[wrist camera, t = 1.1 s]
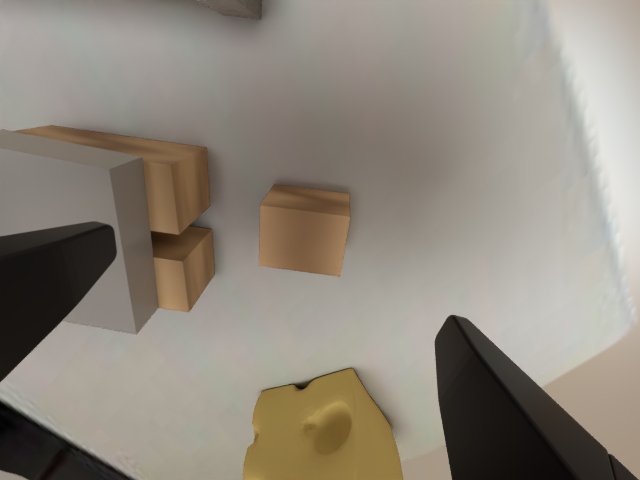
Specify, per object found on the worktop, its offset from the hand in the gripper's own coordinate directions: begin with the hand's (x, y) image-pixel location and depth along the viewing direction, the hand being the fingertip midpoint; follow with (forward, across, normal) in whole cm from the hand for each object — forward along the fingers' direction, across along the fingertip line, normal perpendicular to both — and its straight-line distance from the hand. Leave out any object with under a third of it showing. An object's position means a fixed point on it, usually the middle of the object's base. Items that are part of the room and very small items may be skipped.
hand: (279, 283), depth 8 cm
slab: (+8, +12, +6) cm, 15 cm away
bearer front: (+12, +12, +3) cm, 18 cm away
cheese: (+13, -6, +24) cm, 28 cm away
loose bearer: (+13, 0, +4) cm, 13 cm away
